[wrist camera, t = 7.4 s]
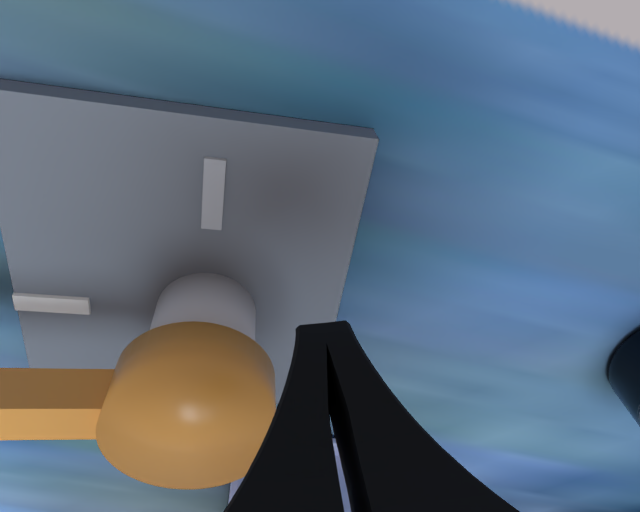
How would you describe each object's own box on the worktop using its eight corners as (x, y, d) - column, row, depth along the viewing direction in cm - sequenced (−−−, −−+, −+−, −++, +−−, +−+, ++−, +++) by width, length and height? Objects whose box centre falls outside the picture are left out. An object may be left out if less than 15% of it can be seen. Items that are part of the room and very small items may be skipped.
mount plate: (313, 388, 28) (322, 469, 24) (44, 377, 25) (1, 465, 21) (372, 128, 20) (402, 182, 16) (-12, 77, 17) (-99, 124, 13)
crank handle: (280, 323, 18) (282, 377, 16) (270, 430, 21) (271, 487, 19) (-156, 312, 16) (-222, 373, 14) (-94, 433, 19) (-139, 497, 17)
